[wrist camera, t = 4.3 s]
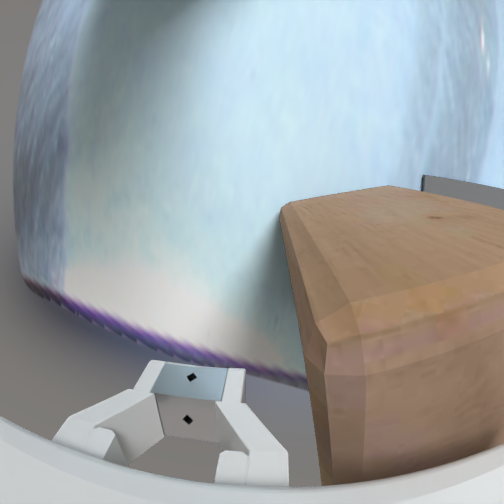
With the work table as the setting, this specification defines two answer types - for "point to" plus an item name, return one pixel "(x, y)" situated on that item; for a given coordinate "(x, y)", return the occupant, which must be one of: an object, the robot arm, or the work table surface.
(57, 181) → the work table surface
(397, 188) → the wooden block
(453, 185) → the mat
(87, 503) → the robot arm
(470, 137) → the work table surface
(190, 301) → the work table surface
